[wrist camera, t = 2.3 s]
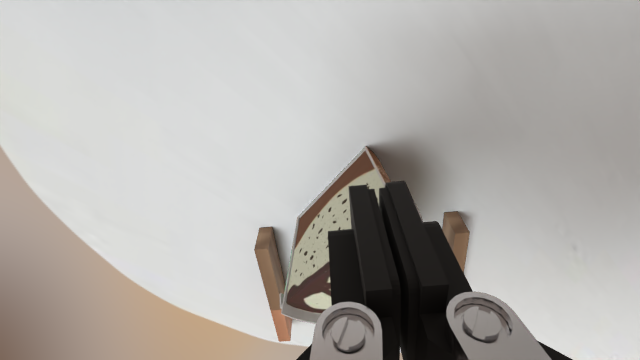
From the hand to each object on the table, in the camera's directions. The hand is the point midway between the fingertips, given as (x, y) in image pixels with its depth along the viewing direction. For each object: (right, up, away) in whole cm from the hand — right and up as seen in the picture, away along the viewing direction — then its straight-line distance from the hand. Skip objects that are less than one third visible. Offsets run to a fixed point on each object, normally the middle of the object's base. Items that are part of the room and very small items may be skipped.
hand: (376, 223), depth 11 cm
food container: (+1, -1, +21) cm, 21 cm away
